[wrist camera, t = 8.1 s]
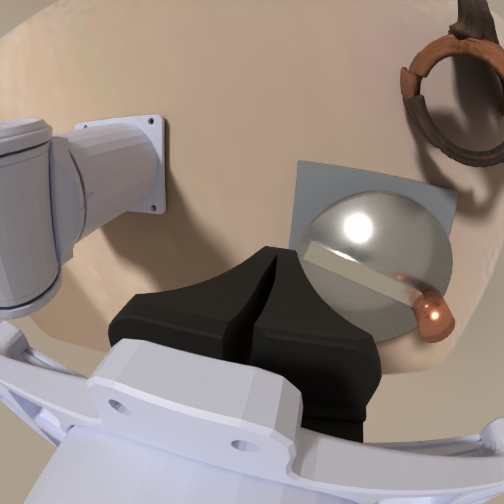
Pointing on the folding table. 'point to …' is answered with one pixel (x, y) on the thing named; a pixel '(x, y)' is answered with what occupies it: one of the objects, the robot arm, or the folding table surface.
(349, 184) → the wheel base
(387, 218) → the handwheel
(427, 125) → the brown curved ring
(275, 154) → the folding table surface
